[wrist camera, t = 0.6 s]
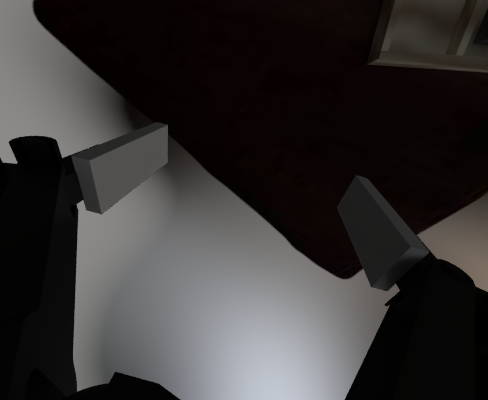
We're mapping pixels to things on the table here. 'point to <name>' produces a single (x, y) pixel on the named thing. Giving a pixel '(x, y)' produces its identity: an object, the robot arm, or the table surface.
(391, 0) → the wooden compartment tray
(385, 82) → the table surface
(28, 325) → the robot arm
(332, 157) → the table surface
